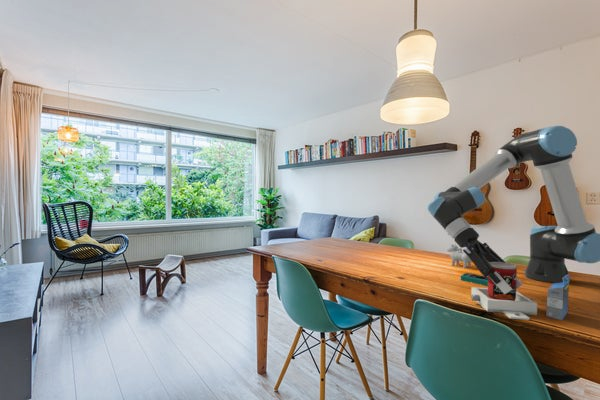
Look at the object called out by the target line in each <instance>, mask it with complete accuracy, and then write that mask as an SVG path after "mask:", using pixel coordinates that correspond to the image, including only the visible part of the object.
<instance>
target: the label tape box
mask: <svg viewBox="0 0 600 400" xmlns="http://www.w3.org/2000/svg"><path fill="white" fill-rule="evenodd" d="M569 276H570V273H569V274H568V275H566V276H565V277H564V278H562V279H563V282H562V283H552V285H551V286H549V288H548V289H547V294H546V295H547V296H546V311H545V312H546V314H545V315H546V316H545V317H548V318H551V319H553V320H554V319H555V320H559V321H563V320H564V318H565V317H566V316H567V314H568V309H569V308H568V306H569V293H570V292H569V291H570V282H569ZM566 279H567V282H566Z"/></svg>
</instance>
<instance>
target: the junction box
mask: <svg viewBox="0 0 600 400" xmlns="http://www.w3.org/2000/svg"><path fill="white" fill-rule="evenodd" d="M470 291H471V298H470V299H471V301H472V302H476V303H477V302H478V303H477V304H479V305H480V306H481V307H482V308H483V309H484V310H486V312H488V313H489V312H491V313H492V312H493V313H503V314H504V315H505V316H506V317H508V318H509V319H512V320H513V319H514V320H524V321H525V320H526V321H530V317H529V316H527V315H531V316H538V303H537V302H536V301H534V299H533V298H531V297H528V296H527V297H526V296H525V295H523V294H522V293H520V292H519V291H517V290H516V299H515V301H510V300H496V299H492V298H490V297H489V295H488V287H474V286H471V290H470Z"/></svg>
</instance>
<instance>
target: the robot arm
mask: <svg viewBox="0 0 600 400" xmlns="http://www.w3.org/2000/svg"><path fill="white" fill-rule="evenodd" d="M576 146H578V140H577V137H576V134H575V133H574V131H572V130H571V129H570V128H568V127H565V126H563V125H553V126H547V127H543V128H540V129H536V130H533V131H532V130H531V131H529V132H524V133H522V134H519V135H517V136H516V137H514V138H512V139H511V140H509V141H508V142H507V143H505V144H504V145H502V146H501V147H500V148H498V149H497V150H496V151H495V152H494V155H493V156H492V157H490V158H489V159H488V160H486V161H485V162H484V163H482V164H481V165H480V166H478V167H477V168H475V169H474V170H473V171H471V172H470V173H468V174H467V175H465V177H463V178H461V179H460V180H459V181H458V182H456V183H455V184H453V185H452V186H450V187H449V188H447V190H445V191H441V192H437V193H436V194H435V195H434V197H433V200H431V201H430V202H429V204H428V206H427V210H428V212H429V213H430V215H431V216H432V217H433V218H434V219H435V220H436V221H437V223H438V224H439V225H440V226H441V227H442V228H443V229H444V230H445V232H446V233H447V235H448V236H450V237H451V239H454V242H455V243H456V245H457V246H459V248H461V249H462V248H463V249H462V252H463V253H465V254H467V255H468V257H469V258H470V259H471V263H472V264H474V266H475V267H476V269H477V270H478V271H479V273H480V275H481V276H484V277H488V276H489V278H490V279H491V280H492V281H493V282H494V283H495V284H496V285H497V287H498V288H499V289H500V290H501V291H502V292H503V293H504V294H506V293H508V292H509V291H511V290H513V289H512V288H511V287H510V286H509V285H508V284H507V283H506V282H505V280H504V279H503V278H502V277H501V276H500V275H499V274H498V273H497V272H496V271H495V272H494V270H493V269H492V267H491V266H490V264H489V262H504V263H507V262H506V261H505V260H504V259H503V258H502V257H500V256H499V254H498V253H496V252H495V251H494V250H493V249H492V248H491V247H490V246H489V244H488V242H487V243H486V242H483V243H482V242H481V241H479V240H478V239H479V237H480V234H479V233H478V232H477V231H476V229H474V227H471V224H470V223H469V222H468V221H467V220H466V219H465V218H464V217H463V216H464V215H465V214H467V213H469V212H471V211H473V210H475V209H477V208H479V207H480V206H482V205H483V204H484V203H485V202H486V196H485V194H484V192H483V191H482V190H481V188H483V187H484V186H486V185H487V184H488V183H490V182H491V181H493V180H494V179H495V178H496V177H498V176H500V175H501V174H502V173H504V172H505V171H506V170H507V169H513V168H515V167H516V166H518V165H519V164H522V163H525V162H529V161H532V164H533V165H534V167H535V168H537V169H539V170H540V173H541V176H542V180H543V182H544V186H545V189H546V192H547V195H548V198H549V202H550V204H551V205H550V206H551V208H552V212H553V214H554V218H555V221H556V223H557V225H542V226H541V225H538V226H537V225H536V226H533V227H531V229H530V234H529V261H528V263H527V265H526V268H525V269H524V276H525V277H527V278H528V279H531V280H536V281H539V282H545V283H552V284H554V283H562V282H563V279H562V278H564V277H565V276H566V275H568V274H569V283H570V282H571V276H570V273H569V271H568V269H567V266H566V263H565V261H566V260H570V261H575V262H578V263H586V264H597V263H599V262H600V233H599V232H596V229H595V226H594V224H592V223H590V222H588V221H587V217H586V214H585V211H584V208H583V205H582V201H581V199H580V195H579V192H578V188H577V186H576V185H577V184H576V181H575V179H574V178H575V177H574V176H573V172H572V168H571V166H570V161H571V160H572V159H573V154H572V153H574V152H575V151H576V149H577V147H576ZM565 259H566V260H565ZM493 272H494V273H493ZM566 282H567V279H566ZM523 285H524V284H523V283H522V282H521V281H520V280H519V279H518V278H517V279H516V290H517V289H519V288H521V287H522V286H523Z"/></svg>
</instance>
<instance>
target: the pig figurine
mask: <svg viewBox="0 0 600 400" xmlns="http://www.w3.org/2000/svg"><path fill="white" fill-rule="evenodd" d="M446 251H447V252H448V253H449V252H450V255H449V256H450V259H451V266H455V265H456V266H457V265H459V264H460V262H463V266H462V268H463V269H467V268H471V267H472V261H471V259H470V258H469V257H468V255H467V254H465V253H464V251H463V249H462V248H461V247H458V245H457V243H456V244H452V243H451V244H450V246H447V247H446Z"/></svg>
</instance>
